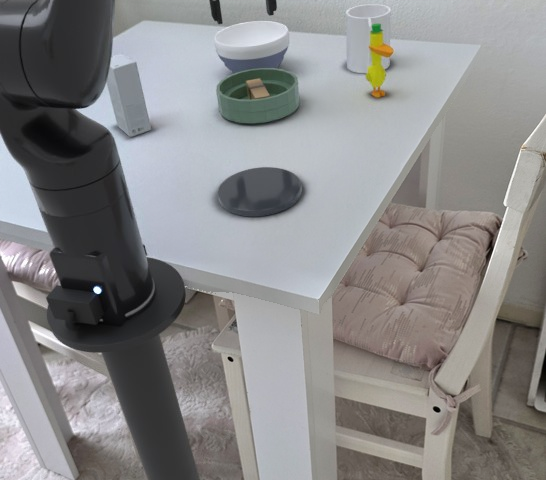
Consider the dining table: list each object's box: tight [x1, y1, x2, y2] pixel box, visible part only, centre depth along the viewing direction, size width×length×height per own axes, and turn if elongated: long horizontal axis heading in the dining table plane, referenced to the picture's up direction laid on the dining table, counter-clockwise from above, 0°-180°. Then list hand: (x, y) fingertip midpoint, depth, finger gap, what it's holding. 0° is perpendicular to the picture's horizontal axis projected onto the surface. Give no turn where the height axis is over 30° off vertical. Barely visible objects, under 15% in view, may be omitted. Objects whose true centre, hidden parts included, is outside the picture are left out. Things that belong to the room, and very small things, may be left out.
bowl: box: [213, 20, 290, 74], centre depth 128 cm, size 14×14×8 cm
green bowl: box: [215, 68, 301, 124], centre depth 116 cm, size 14×14×4 cm
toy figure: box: [365, 24, 394, 99], centre depth 113 cm, size 7×4×12 cm, turn 30°
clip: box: [246, 78, 270, 100], centre depth 116 cm, size 8×3×3 cm, turn 13°
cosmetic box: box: [106, 53, 152, 138], centre depth 112 cm, size 6×4×12 cm
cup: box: [345, 3, 392, 74], centre depth 123 cm, size 8×12×10 cm
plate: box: [217, 166, 303, 218], centre depth 95 cm, size 12×12×1 cm
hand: (245, 18), depth 108 cm, fingers open, 8 cm apart
